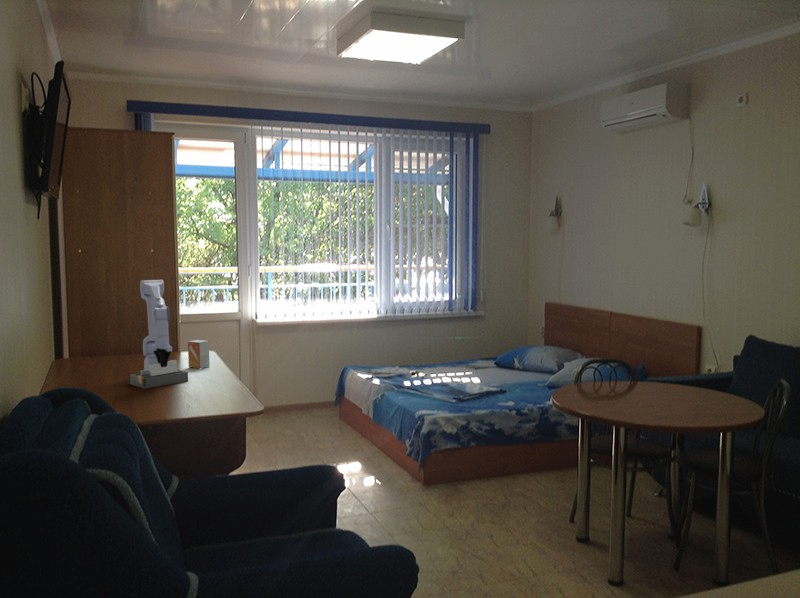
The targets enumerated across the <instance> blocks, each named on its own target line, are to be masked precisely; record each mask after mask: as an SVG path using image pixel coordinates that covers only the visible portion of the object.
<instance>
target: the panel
mask: <svg viewBox="0 0 800 598" xmlns="http://www.w3.org/2000/svg"><path fill="white" fill-rule="evenodd" d="M177 369H178V360H176V359H172V360H168V363H167V367H161V362H160V363H153V364H149V376H156V375H161V374H167V373H173V372H178V370H179V369H178V370H177Z"/></svg>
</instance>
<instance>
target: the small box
mask: <svg viewBox="0 0 800 598" xmlns="http://www.w3.org/2000/svg"><path fill="white" fill-rule="evenodd" d="M187 350H188V351H187V352H188V353H187V356H188V368H191V367H193V368H192V369H199V368H202V369H204V368H203V367H206V366H210V341H209V340H204V339H202V340H201V339H195V340H188V341H187ZM206 368H207V367H206Z"/></svg>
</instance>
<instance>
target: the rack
mask: <svg viewBox="0 0 800 598" xmlns="http://www.w3.org/2000/svg"><path fill="white" fill-rule="evenodd" d="M177 370H178V372H173V373H167V374H161V375H156V376H149V369H148V370H144V369H143V370H140V373H134V374H133V373H132V374H129V385H132V386H135V387H138V388H140V389H149V388H156V387H161V386H167V385H174V384H180V383H186V382H189V373H188V371H185V370H180V369H178V368H177Z"/></svg>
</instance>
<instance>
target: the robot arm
mask: <svg viewBox="0 0 800 598" xmlns="http://www.w3.org/2000/svg"><path fill="white" fill-rule="evenodd" d="M139 282H140V283H139V289H140V297H141V299H143V300H145V303H146V310H147V313H146V315H147V326H148V328H147V329H148V335H147V336H145V337H144V338H143V340H142V354H143V356H145V358H144V360H143V367H144V368H143V370H148V369H149V364H153V363H160V362H161V367H167V363H168V361H169V358H170V356H171V354H172V352H173V346H171V345H170V335H169V320H170V309H169V306H166V302H165V299H164V298H163V296H164V292H165V282H164V280H163V279H143V280H142V279H141V280H140V281H139Z"/></svg>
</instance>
